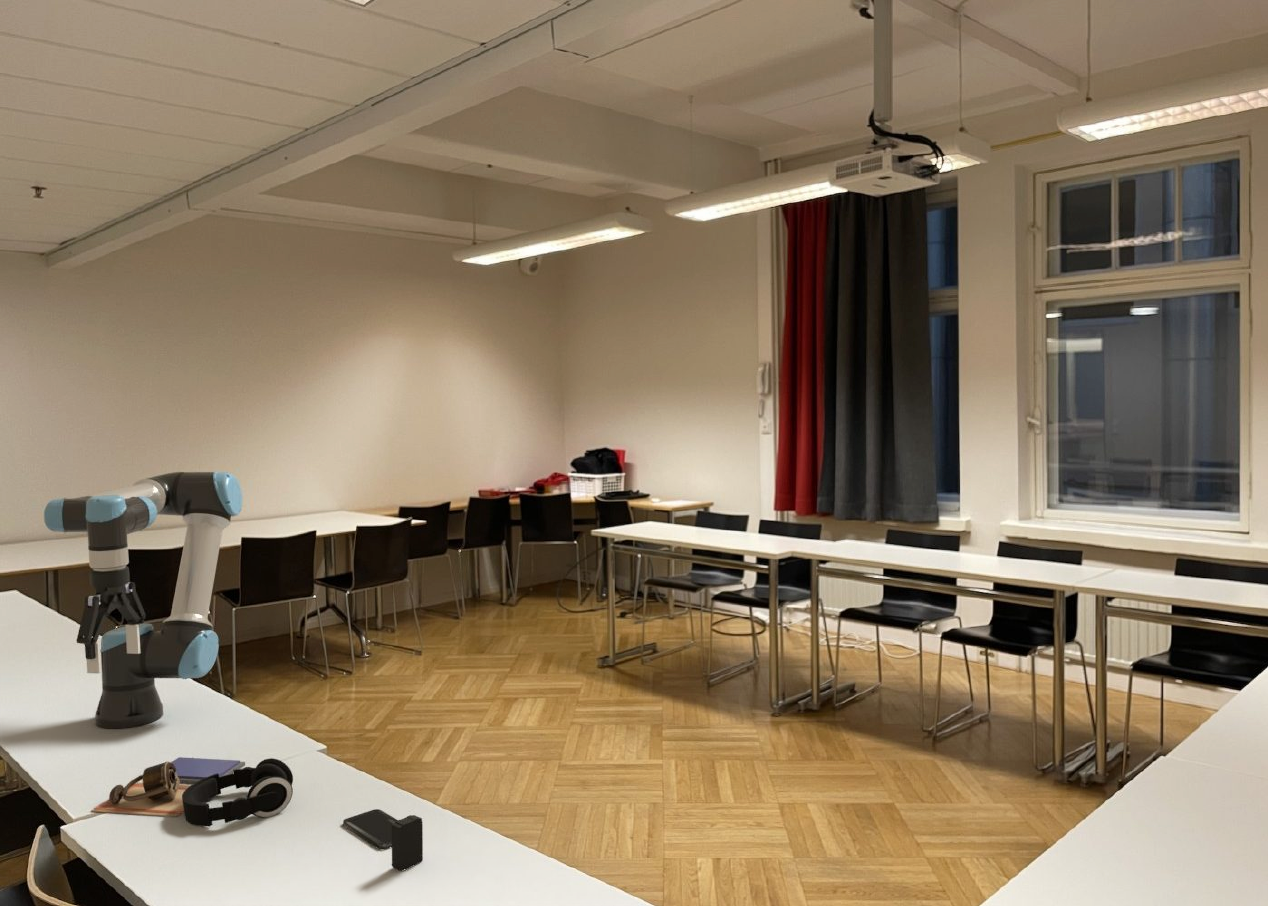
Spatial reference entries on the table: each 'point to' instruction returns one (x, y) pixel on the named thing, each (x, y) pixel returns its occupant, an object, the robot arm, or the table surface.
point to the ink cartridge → (407, 842)
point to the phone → (372, 827)
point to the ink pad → (203, 768)
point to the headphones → (261, 801)
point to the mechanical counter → (151, 784)
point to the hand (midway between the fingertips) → (114, 662)
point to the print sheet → (145, 804)
